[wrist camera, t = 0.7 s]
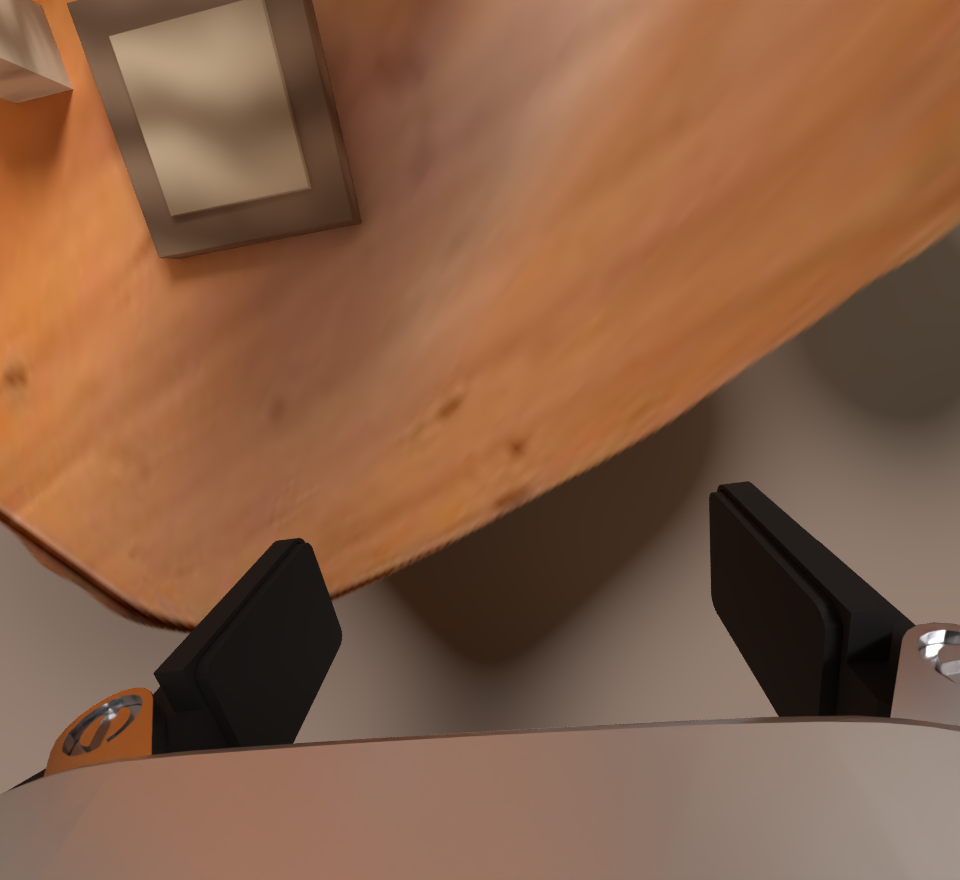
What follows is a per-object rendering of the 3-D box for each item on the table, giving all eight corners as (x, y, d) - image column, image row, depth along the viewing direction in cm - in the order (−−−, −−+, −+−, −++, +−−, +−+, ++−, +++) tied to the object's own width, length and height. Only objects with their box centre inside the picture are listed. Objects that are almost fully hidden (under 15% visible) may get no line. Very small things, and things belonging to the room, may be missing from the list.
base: (93, 19, 32) (59, -2, 30) (303, -39, 30) (285, -66, 28) (177, 258, 37) (154, 257, 35) (361, 223, 35) (350, 218, 33)
